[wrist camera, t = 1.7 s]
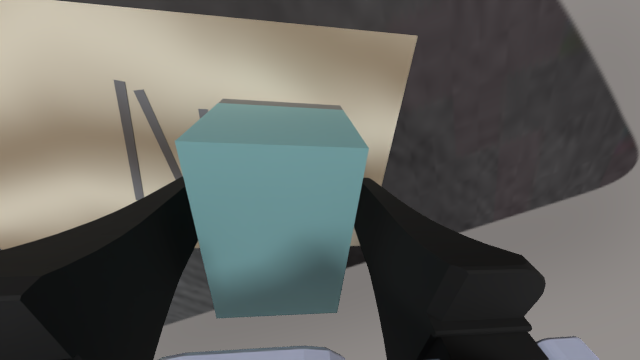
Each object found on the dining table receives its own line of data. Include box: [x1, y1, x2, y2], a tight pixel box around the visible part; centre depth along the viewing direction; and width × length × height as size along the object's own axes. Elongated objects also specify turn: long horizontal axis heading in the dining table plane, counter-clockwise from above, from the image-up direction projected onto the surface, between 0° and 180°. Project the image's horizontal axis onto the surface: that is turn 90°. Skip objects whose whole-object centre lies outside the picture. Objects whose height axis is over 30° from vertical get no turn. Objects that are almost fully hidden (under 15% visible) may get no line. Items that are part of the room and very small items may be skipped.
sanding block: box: [175, 99, 369, 318], centre depth 11 cm, size 8×5×5 cm, turn 176°
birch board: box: [0, 0, 418, 250], centre depth 12 cm, size 12×21×2 cm, turn 86°
